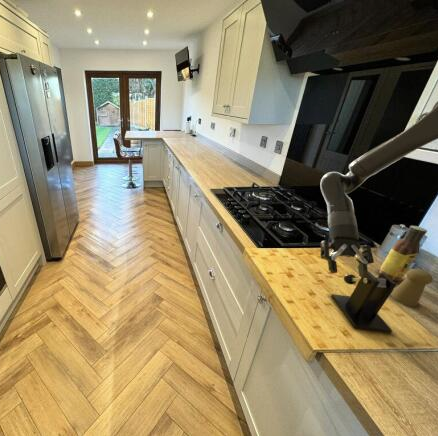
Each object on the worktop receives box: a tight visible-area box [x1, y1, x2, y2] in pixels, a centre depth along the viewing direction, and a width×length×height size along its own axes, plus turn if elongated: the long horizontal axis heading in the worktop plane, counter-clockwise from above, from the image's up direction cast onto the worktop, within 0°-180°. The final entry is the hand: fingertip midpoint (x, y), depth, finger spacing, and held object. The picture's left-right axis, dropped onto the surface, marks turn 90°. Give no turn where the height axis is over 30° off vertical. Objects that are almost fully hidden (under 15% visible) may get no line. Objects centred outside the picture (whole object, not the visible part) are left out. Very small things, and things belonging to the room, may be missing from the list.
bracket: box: [330, 270, 398, 335], centre depth 66 cm, size 12×9×14 cm
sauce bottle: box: [378, 225, 428, 282], centre depth 82 cm, size 7×6×20 cm
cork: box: [390, 268, 434, 307], centre depth 73 cm, size 6×6×11 cm
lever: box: [343, 273, 386, 288], centre depth 69 cm, size 13×3×3 cm
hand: (348, 274), depth 75 cm, fingers open, 8 cm apart
